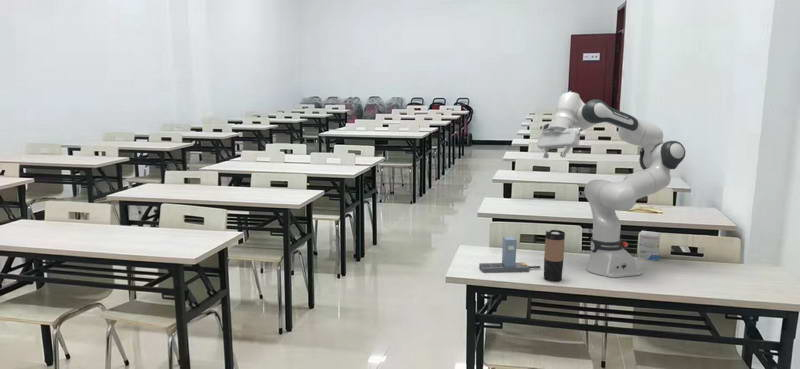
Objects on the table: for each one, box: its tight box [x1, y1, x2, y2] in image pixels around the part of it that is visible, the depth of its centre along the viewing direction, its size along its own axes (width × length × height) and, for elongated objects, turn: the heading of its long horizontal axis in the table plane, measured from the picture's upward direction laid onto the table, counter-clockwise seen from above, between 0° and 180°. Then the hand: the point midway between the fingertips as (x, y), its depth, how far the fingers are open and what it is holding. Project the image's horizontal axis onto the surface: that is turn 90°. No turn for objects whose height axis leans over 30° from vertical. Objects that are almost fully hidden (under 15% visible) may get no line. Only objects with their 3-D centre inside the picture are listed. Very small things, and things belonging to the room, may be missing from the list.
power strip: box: [478, 261, 541, 274], centre depth 255 cm, size 26×7×2 cm, turn 96°
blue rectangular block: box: [501, 236, 517, 267], centre depth 253 cm, size 5×5×14 cm
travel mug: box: [543, 229, 566, 283], centre depth 242 cm, size 8×8×20 cm
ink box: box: [638, 230, 661, 261], centre depth 274 cm, size 9×8×12 cm
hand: (553, 157), depth 249 cm, fingers open, 8 cm apart
